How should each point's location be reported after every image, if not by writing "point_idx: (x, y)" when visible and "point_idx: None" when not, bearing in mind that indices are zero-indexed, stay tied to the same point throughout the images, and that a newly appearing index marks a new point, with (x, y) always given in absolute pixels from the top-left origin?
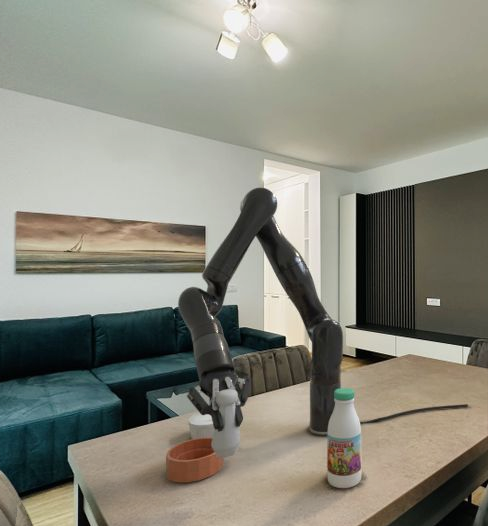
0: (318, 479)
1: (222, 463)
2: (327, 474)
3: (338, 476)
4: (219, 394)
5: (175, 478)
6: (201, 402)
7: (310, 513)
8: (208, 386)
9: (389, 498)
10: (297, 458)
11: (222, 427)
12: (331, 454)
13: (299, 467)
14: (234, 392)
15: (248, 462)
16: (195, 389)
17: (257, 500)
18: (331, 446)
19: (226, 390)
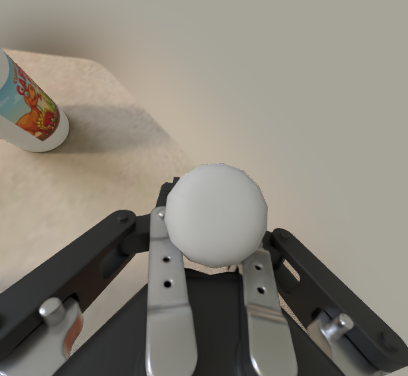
0: (68, 159)
1: None
2: (58, 138)
3: (58, 108)
4: (263, 204)
5: None
6: (307, 255)
7: (133, 112)
8: (299, 345)
9: (42, 58)
10: (36, 241)
11: None
12: (38, 100)
13: (59, 210)
14: (195, 175)
15: (108, 296)
16: (371, 337)
17: (161, 181)
18: (26, 89)
19: (221, 222)
